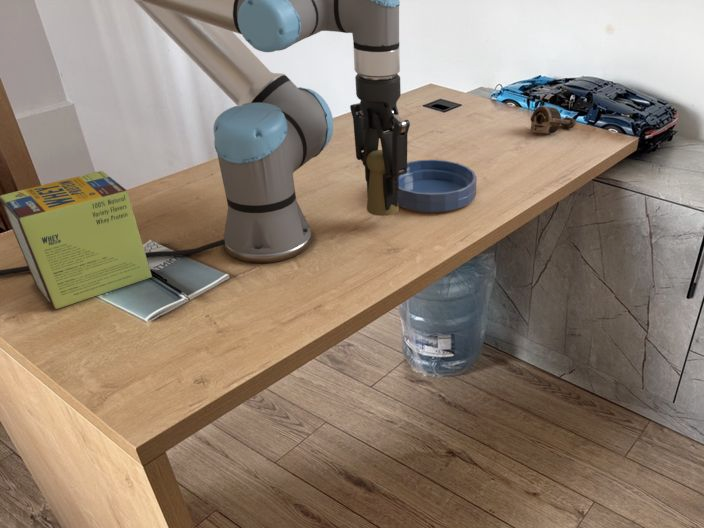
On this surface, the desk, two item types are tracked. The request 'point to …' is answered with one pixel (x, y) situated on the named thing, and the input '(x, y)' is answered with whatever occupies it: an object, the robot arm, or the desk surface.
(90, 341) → the desk surface
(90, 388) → the desk surface
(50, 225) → the protein box
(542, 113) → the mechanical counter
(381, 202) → the olive peg doll
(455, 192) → the bowl
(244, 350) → the desk surface
